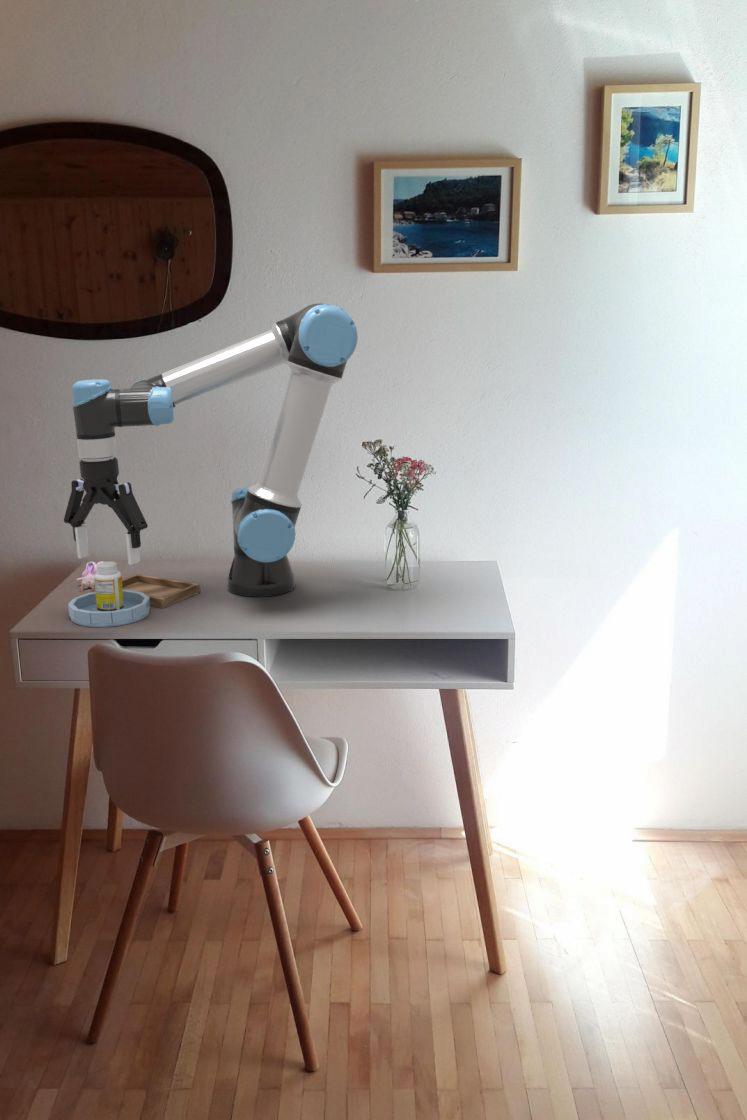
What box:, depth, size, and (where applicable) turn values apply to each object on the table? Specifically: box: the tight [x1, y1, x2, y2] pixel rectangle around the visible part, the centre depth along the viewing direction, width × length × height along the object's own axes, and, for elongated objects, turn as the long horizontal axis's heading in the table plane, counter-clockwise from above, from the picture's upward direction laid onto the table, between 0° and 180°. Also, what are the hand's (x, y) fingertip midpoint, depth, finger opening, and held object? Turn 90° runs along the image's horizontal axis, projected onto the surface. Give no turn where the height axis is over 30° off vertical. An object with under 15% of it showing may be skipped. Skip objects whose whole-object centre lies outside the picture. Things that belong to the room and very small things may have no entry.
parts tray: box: [122, 573, 201, 609], centre depth 236 cm, size 18×13×2 cm
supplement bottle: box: [94, 561, 124, 611], centre depth 221 cm, size 6×6×10 cm
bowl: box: [67, 590, 151, 628], centre depth 222 cm, size 16×16×3 cm
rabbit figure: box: [76, 560, 104, 591], centre depth 246 cm, size 6×6×15 cm
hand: (108, 560), depth 220 cm, fingers open, 13 cm apart
